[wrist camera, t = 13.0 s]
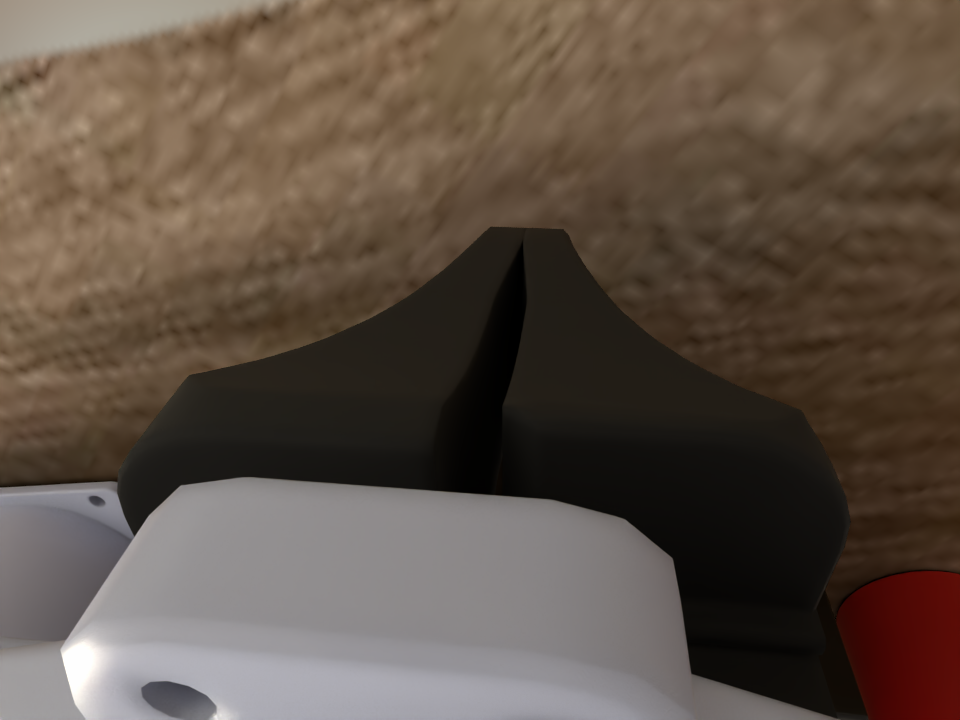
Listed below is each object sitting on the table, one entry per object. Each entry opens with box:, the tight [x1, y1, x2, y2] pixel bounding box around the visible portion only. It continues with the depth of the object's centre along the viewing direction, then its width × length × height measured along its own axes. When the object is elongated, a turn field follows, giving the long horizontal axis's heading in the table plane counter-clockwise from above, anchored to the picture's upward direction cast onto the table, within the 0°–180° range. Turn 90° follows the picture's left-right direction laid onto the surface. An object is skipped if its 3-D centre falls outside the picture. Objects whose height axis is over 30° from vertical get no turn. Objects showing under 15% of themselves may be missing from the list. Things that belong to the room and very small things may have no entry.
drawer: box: [495, 460, 868, 720], centre depth 17 cm, size 18×12×6 cm
